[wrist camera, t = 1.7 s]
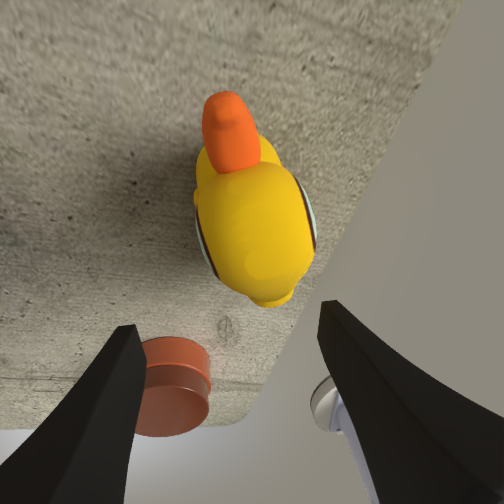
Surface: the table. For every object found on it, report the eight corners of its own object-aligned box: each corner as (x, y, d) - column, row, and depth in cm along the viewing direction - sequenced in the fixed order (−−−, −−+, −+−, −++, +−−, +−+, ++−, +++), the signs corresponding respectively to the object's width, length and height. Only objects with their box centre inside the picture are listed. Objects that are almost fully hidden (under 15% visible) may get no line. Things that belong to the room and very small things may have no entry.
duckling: (161, 96, 15) (112, 131, 7) (260, 66, 15) (331, 66, 7) (224, 266, 22) (239, 393, 13) (295, 245, 21) (355, 360, 13)
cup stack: (206, 331, 25) (206, 378, 21) (213, 383, 29) (215, 430, 25) (116, 342, 24) (101, 392, 20) (136, 394, 28) (126, 444, 24)
